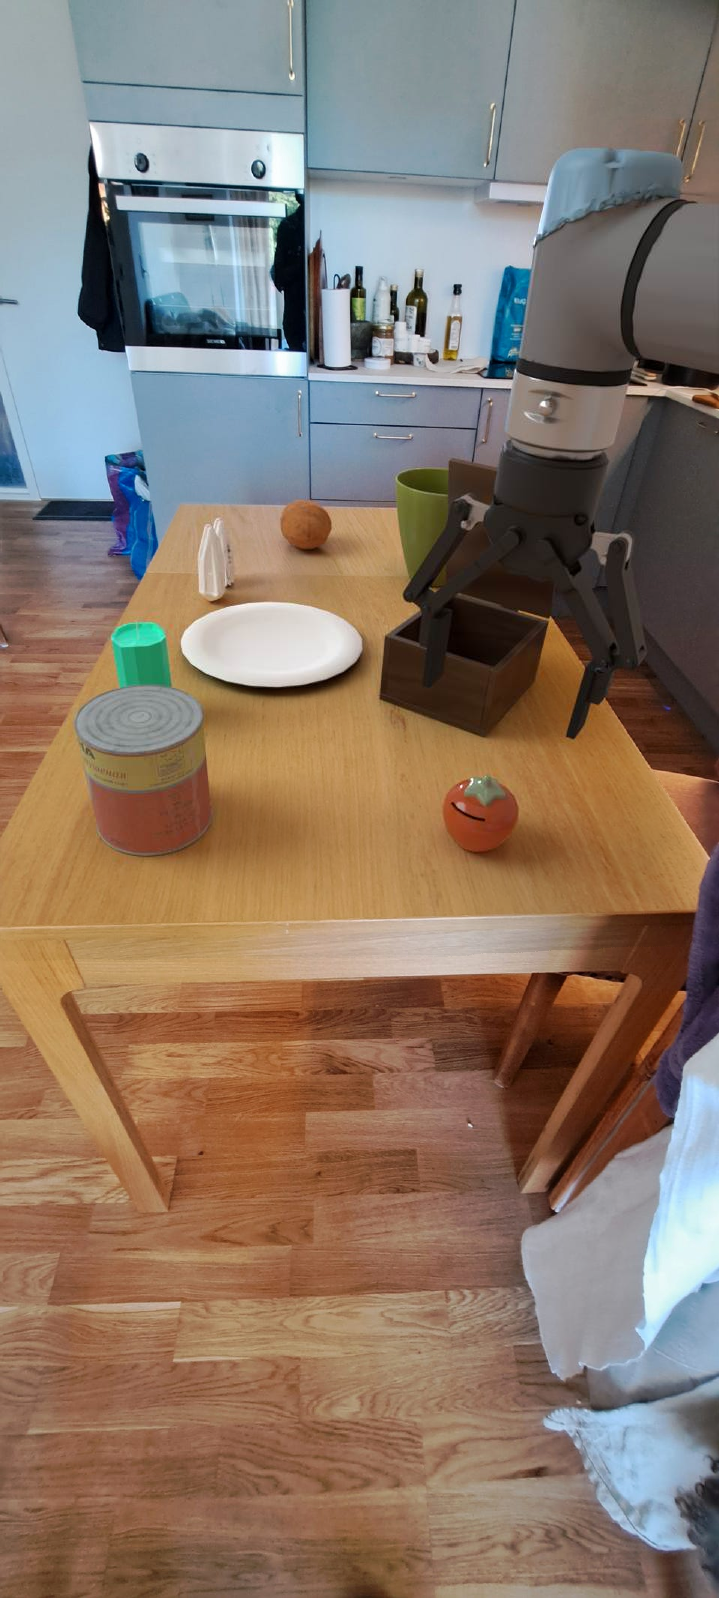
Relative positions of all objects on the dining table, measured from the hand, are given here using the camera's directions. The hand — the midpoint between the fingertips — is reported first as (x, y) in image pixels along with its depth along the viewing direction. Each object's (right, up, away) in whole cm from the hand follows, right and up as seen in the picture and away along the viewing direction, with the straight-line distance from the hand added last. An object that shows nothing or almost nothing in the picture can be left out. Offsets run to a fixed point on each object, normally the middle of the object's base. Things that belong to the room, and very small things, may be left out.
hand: (500, 705), depth 65 cm
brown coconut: (-22, +38, +70) cm, 82 cm away
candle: (-38, +2, +24) cm, 45 cm away
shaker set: (-35, +25, +52) cm, 68 cm away
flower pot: (0, +29, +61) cm, 68 cm away
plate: (-24, +12, +38) cm, 47 cm away
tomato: (-1, -12, +9) cm, 16 cm away
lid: (+5, +23, +25) cm, 34 cm away
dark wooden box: (+1, +6, +32) cm, 33 cm away
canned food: (-33, -10, +9) cm, 36 cm away
